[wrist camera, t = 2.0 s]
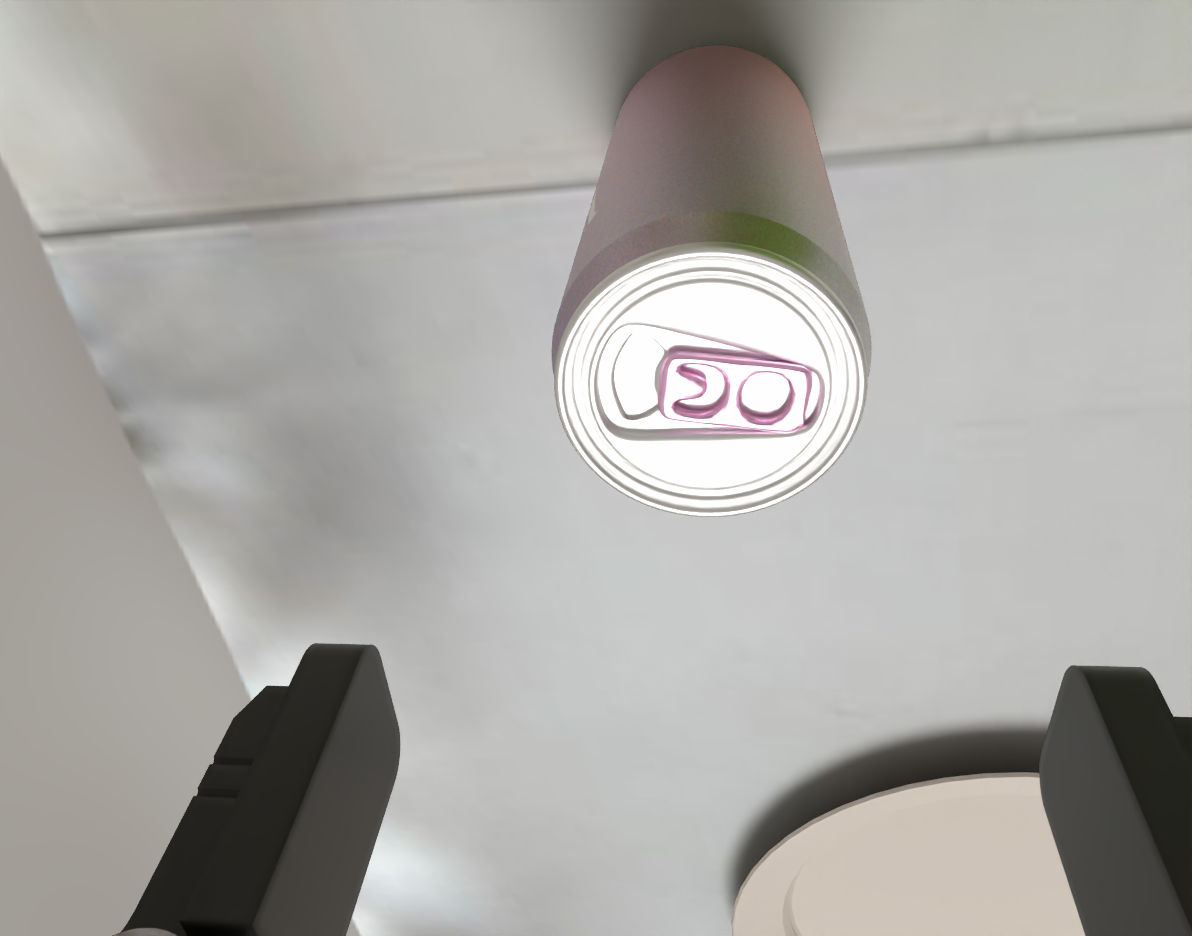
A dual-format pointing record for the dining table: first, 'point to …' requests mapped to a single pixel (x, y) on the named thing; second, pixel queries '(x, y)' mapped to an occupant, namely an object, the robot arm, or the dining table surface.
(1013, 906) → the plate
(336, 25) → the dining table surface
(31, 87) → the dining table surface
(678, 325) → the beverage can
